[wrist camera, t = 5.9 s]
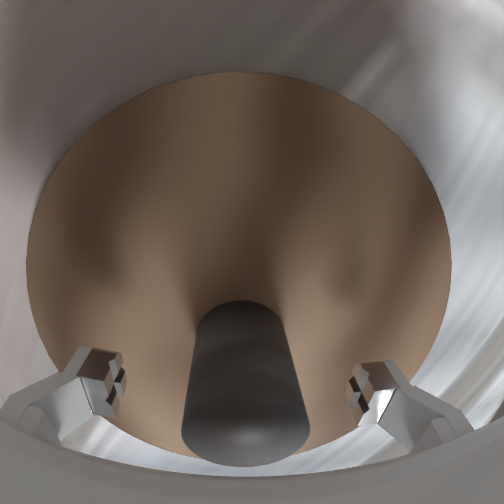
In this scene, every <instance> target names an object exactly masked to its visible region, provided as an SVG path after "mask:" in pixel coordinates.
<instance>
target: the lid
mask: <svg viewBox="0 0 504 504" xmlns="http://www.w3.org/2000/svg"><path fill="white" fill-rule="evenodd" d="M451 268H452V262H451V248H450V238H449V233H448V229H447V224H446V220H445V216H444V212H443V209H442V207H441V204H440V202H439V199H438V197H437V194H436V192H435V189H434V187H433V185H432V183H431V181H430V180H429V178H428V176H427V174H426V173H425V171H424V169H423V168H422V166H421V164H420V163H419V161H418V160H417V158H416V157H415V156H414V155H413V154H412V152H411V151H410V150H409V149H408V148H407V146H406V145H405V144H404V143H403V142H402V141H401V139H400V138H399V137H398V136H397V135H396V134H395V133H394V132H393V131H392V130H390V129H389V128H388V127H387V126H386V125H385V124H383V123H382V122H381V121H380V120H379V119H377V118H376V117H375V116H374V115H373V114H371V113H370V112H368V111H367V110H365V109H363V108H362V107H360V106H359V105H357V104H355V103H354V102H352V101H350V100H348V99H347V98H345V97H343V96H342V95H340V94H337V93H335V92H332V91H330V90H327V89H325V88H322V87H320V86H317V85H314V84H312V83H309V82H306V81H302V80H298V79H294V78H289V77H284V76H279V75H274V74H268V73H251V72H223V73H215V74H207V75H200V76H194V77H188V78H184V79H181V80H178V81H174V82H171V83H168V84H165V85H162V86H159V87H156V88H153V89H151V90H148V91H146V92H144V93H142V94H140V95H138V96H137V97H135V98H133V99H131V100H129V101H127V102H125V103H123V104H121V105H120V106H118V107H116V108H115V109H114V110H112V111H111V112H110V113H108V114H107V115H106V116H104V117H103V118H102V119H100V120H99V121H98V122H96V123H95V124H94V125H93V126H91V127H90V128H89V129H88V130H87V131H86V132H85V133H84V134H83V135H82V136H81V137H80V138H79V139H78V141H77V142H76V143H75V144H74V145H73V146H72V147H71V148H70V149H69V150H68V151H67V153H66V154H65V156H64V157H63V158H62V160H61V161H60V163H59V164H58V166H57V167H56V169H55V170H54V172H53V173H52V175H51V177H50V178H49V180H48V182H47V184H46V186H45V189H44V191H43V193H42V195H41V197H40V200H39V202H38V204H37V207H36V210H35V214H34V217H33V221H32V225H31V229H30V233H29V239H28V248H27V258H26V273H27V289H28V295H29V300H30V306H31V311H32V314H33V318H34V321H35V324H36V327H37V330H38V333H39V335H40V338H41V340H42V342H43V344H44V346H45V348H46V350H47V352H48V354H49V356H50V358H51V359H52V361H53V363H54V364H55V366H56V367H57V369H58V370H59V372H62V373H63V371H64V369H65V368H66V366H67V365H68V363H69V362H70V360H71V358H72V357H73V355H74V354H75V352H76V351H77V349H78V348H79V347H80V346H81V345H85V346H90V347H96V348H100V349H105V350H110V351H116V352H120V353H121V354H122V358H123V363H122V366H121V367H122V368H123V369H124V370H125V372H126V380H127V383H126V390H125V393H124V396H123V397H121V398H119V402H120V407H119V410H118V412H117V415H116V418H110V417H105V416H102V417H103V418H105V419H106V420H107V421H109V422H110V423H112V424H113V425H115V426H116V427H118V428H120V429H121V430H123V431H124V432H126V433H128V434H130V435H132V436H134V437H136V438H138V439H140V440H142V441H144V442H146V443H148V444H151V445H153V446H156V447H158V448H161V449H164V450H167V451H170V452H174V453H177V454H181V455H185V456H189V457H194V458H200V459H205V460H207V461H210V462H213V463H216V464H220V465H225V466H233V467H253V466H261V465H266V464H270V463H274V462H277V461H279V460H282V459H284V458H286V457H288V456H290V455H294V454H298V453H301V452H305V451H308V450H311V449H314V448H317V447H319V446H322V445H324V444H327V443H329V442H332V441H334V440H336V439H338V438H340V437H342V436H344V435H345V434H347V433H349V432H351V431H353V430H354V429H356V428H357V427H359V426H357V423H356V421H355V418H354V416H353V414H352V412H353V410H354V408H353V407H352V406H350V405H349V404H348V401H347V398H346V387H347V384H348V381H349V380H350V379H351V378H352V377H353V376H354V375H353V373H352V370H353V368H354V366H355V364H356V363H365V362H377V361H384V360H394V361H395V362H396V364H397V365H398V366H399V368H400V369H401V371H402V372H403V374H404V375H405V377H406V378H407V380H408V381H409V382H410V380H411V379H412V378H413V377H414V375H415V374H416V373H417V371H418V370H419V368H420V366H421V365H422V363H423V362H424V360H425V359H426V357H427V355H428V354H429V352H430V350H431V348H432V345H433V343H434V341H435V339H436V337H437V335H438V332H439V330H440V327H441V324H442V321H443V318H444V315H445V311H446V307H447V302H448V297H449V292H450V283H451Z"/></svg>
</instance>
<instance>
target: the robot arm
mask: <svg viewBox="0 0 504 504" xmlns="http://www.w3.org/2000/svg"><path fill="white" fill-rule="evenodd" d="M122 363H123V358H122V354H121V353H120V352H116V351H110V350H105V349H100V348H96V347H90V346H85V345H81V346H80V347H79V348H78V349H77V351H76V352H75V354H74V355H73V357H72V358H71V360H70V362H69V363H68V365H67V366H66V368H65V369H64V371H63V373H62V372H57V373H55V374H53V375H51V376H49V377H47V378H45V379H43V380H41V381H39V382H37V383H35V384H33V385H31V386H29V387H26V388H24V389H22V390H20V391H18V392H16V393H14V394H12V395H10V396H9V398H8V399H7V401H6V402H5V404H4V405H3V407H2V408H1V410H0V504H504V417H502V418H500V419H498V420H496V421H494V422H492V423H490V424H488V425H486V426H483V427H481V428H479V429H477V430H474V429H473V427H472V426H471V424H470V423H469V421H468V420H467V419H466V417H465V416H464V414H463V413H462V411H461V410H459V409H457V408H455V407H453V406H452V405H450V404H448V403H446V402H444V401H442V400H440V399H438V398H437V397H435V396H433V395H431V394H429V393H427V392H425V391H424V390H422V389H420V388H418V387H416V386H411V384H410V383H409V381H408V380H407V378H406V377H405V375H404V374H403V372H402V371H401V369H400V368H399V366H398V365H397V364H396V362H395V361H394V360H384V361H377V362H365V363H356V364H355V366H354V368H353V370H352V373H353V375H354V376H353V377H352V378H351V379H350V380H349V381H348V384H347V387H346V398H347V401H348V404H349V405H350V406H352V407H353V408H354V410H353V412H352V414H353V416H354V418H355V421H356V423H357V426H361V425H368V424H376V423H378V425H379V426H381V427H382V428H383V429H384V430H385V431H387V432H388V433H389V434H390V435H391V436H393V437H394V438H395V439H396V440H398V441H399V442H400V443H401V444H402V445H404V446H405V447H406V448H407V449H409V450H410V452H409V453H408V454H407V455H404V456H401V457H397V458H393V459H389V460H385V461H381V462H377V463H372V464H368V465H363V466H358V467H352V468H346V469H340V470H334V471H327V472H319V473H310V474H300V475H287V476H267V477H228V476H209V475H196V474H186V473H177V472H169V471H162V470H156V469H149V468H144V467H138V466H133V465H128V464H124V463H119V462H115V461H111V460H107V459H103V458H99V457H95V456H92V455H88V454H85V453H81V452H78V451H75V450H72V449H69V448H66V447H64V446H63V444H62V443H61V440H62V439H64V438H65V437H66V436H68V435H69V434H70V433H71V432H73V431H74V430H75V429H76V428H78V427H79V426H80V425H82V424H83V423H84V422H85V421H87V420H88V419H89V418H90V417H92V416H93V414H96V415H100V416H105V417H110V418H116V415H117V412H118V410H119V407H120V402H119V398H121V397H123V396H124V393H125V390H126V383H127V380H126V372H125V370H124V369H123V368H122V367H121V366H122Z"/></svg>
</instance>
